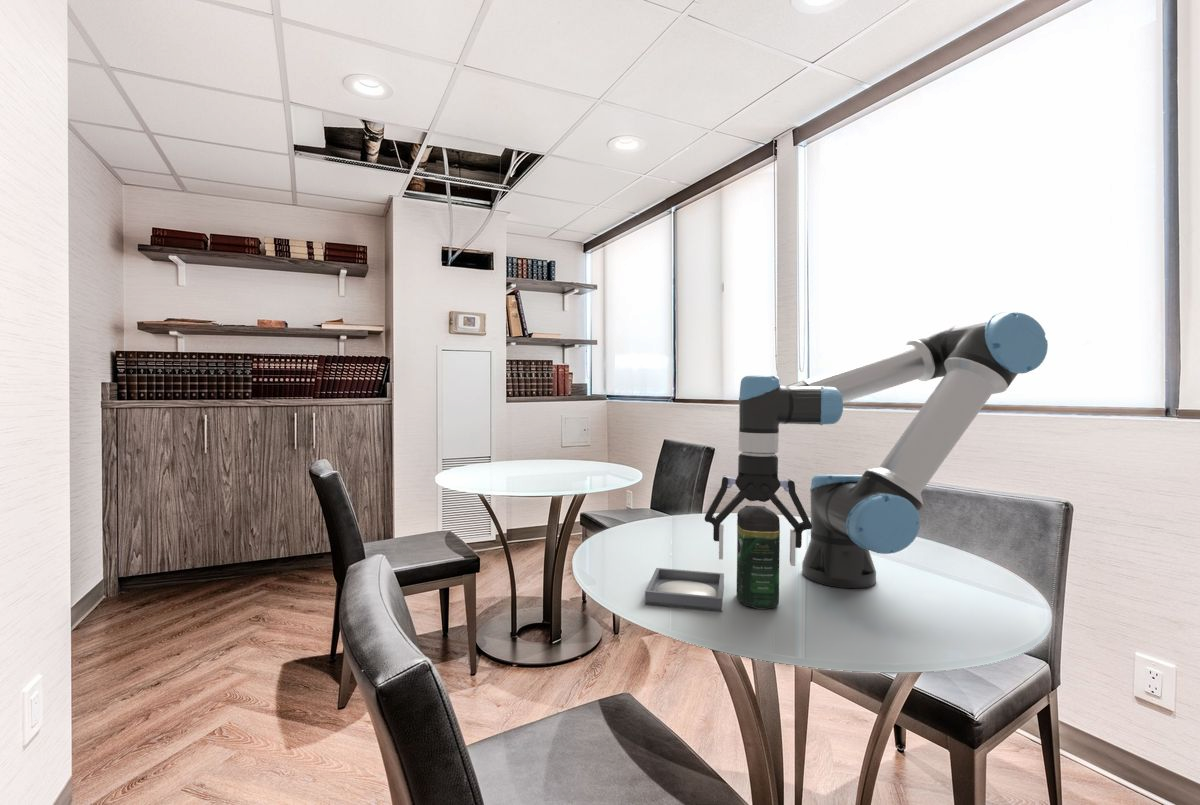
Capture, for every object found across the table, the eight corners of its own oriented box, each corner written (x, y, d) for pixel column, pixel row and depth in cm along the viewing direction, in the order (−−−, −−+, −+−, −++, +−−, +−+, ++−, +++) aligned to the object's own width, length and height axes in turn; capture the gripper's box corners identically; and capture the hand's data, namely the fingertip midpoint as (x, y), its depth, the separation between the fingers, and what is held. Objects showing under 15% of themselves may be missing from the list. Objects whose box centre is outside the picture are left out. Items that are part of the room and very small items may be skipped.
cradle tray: (723, 584, 114) (723, 573, 114) (721, 611, 100) (721, 598, 100) (656, 578, 118) (656, 567, 118) (645, 604, 104) (645, 591, 104)
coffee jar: (783, 611, 100) (784, 513, 100) (740, 609, 101) (741, 512, 101) (773, 592, 110) (773, 503, 110) (734, 591, 111) (734, 502, 111)
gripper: (822, 454, 106) (820, 560, 106) (695, 449, 112) (693, 549, 112) (829, 458, 98) (826, 572, 99) (692, 453, 105) (690, 560, 105)
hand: (756, 560), depth 106 cm, fingers open, 13 cm apart
